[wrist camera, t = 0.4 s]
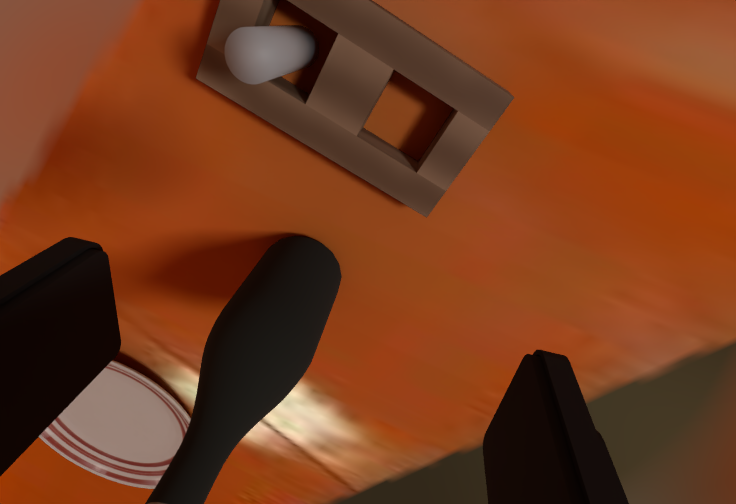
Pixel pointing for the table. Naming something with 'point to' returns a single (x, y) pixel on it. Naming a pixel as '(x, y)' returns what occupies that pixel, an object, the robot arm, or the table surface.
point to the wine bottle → (252, 360)
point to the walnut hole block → (364, 94)
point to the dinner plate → (120, 428)
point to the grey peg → (269, 51)
